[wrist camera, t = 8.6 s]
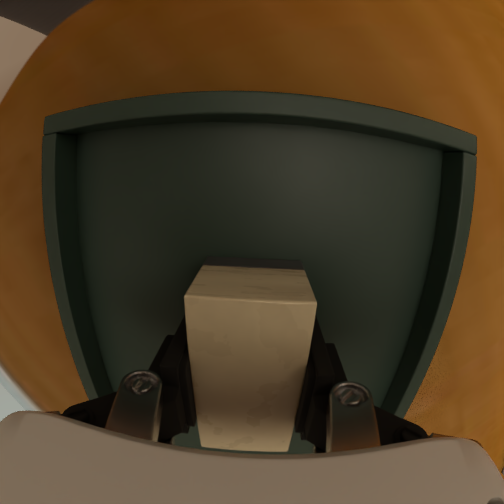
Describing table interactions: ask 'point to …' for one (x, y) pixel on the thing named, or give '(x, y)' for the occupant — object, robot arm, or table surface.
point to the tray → (256, 225)
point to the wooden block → (248, 350)
